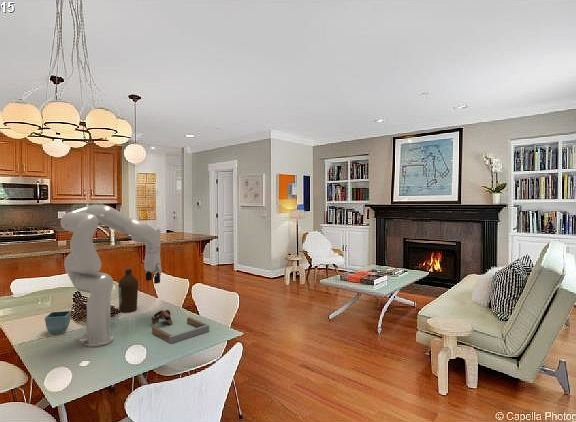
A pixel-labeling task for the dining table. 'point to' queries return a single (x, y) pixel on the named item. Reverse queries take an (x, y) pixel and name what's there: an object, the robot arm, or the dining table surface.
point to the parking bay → (171, 339)
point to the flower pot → (58, 322)
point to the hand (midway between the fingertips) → (152, 281)
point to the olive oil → (128, 292)
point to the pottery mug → (162, 316)
